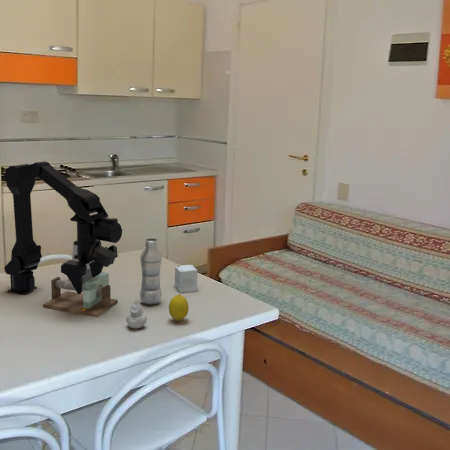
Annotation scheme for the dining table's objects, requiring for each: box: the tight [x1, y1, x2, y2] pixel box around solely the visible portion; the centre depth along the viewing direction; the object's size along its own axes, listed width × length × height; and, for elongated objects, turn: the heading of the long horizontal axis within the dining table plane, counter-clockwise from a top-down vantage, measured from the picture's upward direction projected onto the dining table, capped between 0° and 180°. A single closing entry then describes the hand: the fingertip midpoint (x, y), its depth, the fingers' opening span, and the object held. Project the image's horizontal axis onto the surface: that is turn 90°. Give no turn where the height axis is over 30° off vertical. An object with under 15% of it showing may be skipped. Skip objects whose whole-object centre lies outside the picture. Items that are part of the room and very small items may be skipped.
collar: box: [82, 271, 110, 308], centre depth 165 cm, size 2×11×7 cm, turn 162°
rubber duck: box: [126, 300, 148, 329], centre depth 154 cm, size 5×7×8 cm
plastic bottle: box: [139, 237, 163, 305], centre depth 169 cm, size 6×7×20 cm
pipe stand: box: [42, 276, 119, 318], centre depth 167 cm, size 18×12×7 cm, turn 72°
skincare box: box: [174, 264, 198, 294], centre depth 184 cm, size 6×6×7 cm
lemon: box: [168, 293, 190, 322], centre depth 159 cm, size 6×6×8 cm
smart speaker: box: [71, 240, 92, 284], centre depth 187 cm, size 10×9×14 cm
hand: (87, 288), depth 166 cm, fingers open, 9 cm apart
